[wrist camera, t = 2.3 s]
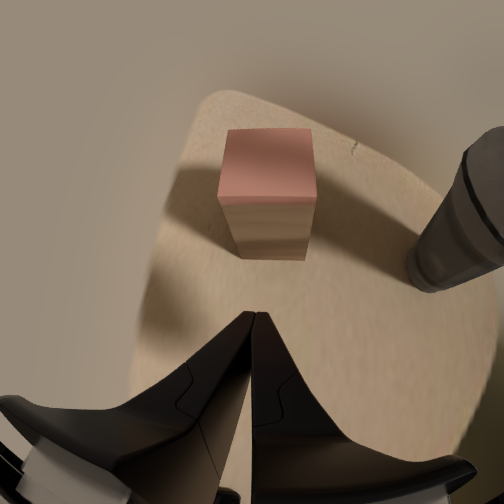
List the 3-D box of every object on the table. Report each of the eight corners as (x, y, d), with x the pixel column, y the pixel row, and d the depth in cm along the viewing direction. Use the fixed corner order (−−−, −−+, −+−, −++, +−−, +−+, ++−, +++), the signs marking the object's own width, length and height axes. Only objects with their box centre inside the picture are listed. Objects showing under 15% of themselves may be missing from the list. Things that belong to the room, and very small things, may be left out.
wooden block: (304, 260, 21) (317, 196, 13) (241, 259, 22) (217, 196, 14) (303, 205, 23) (310, 129, 15) (246, 205, 24) (228, 130, 16)
